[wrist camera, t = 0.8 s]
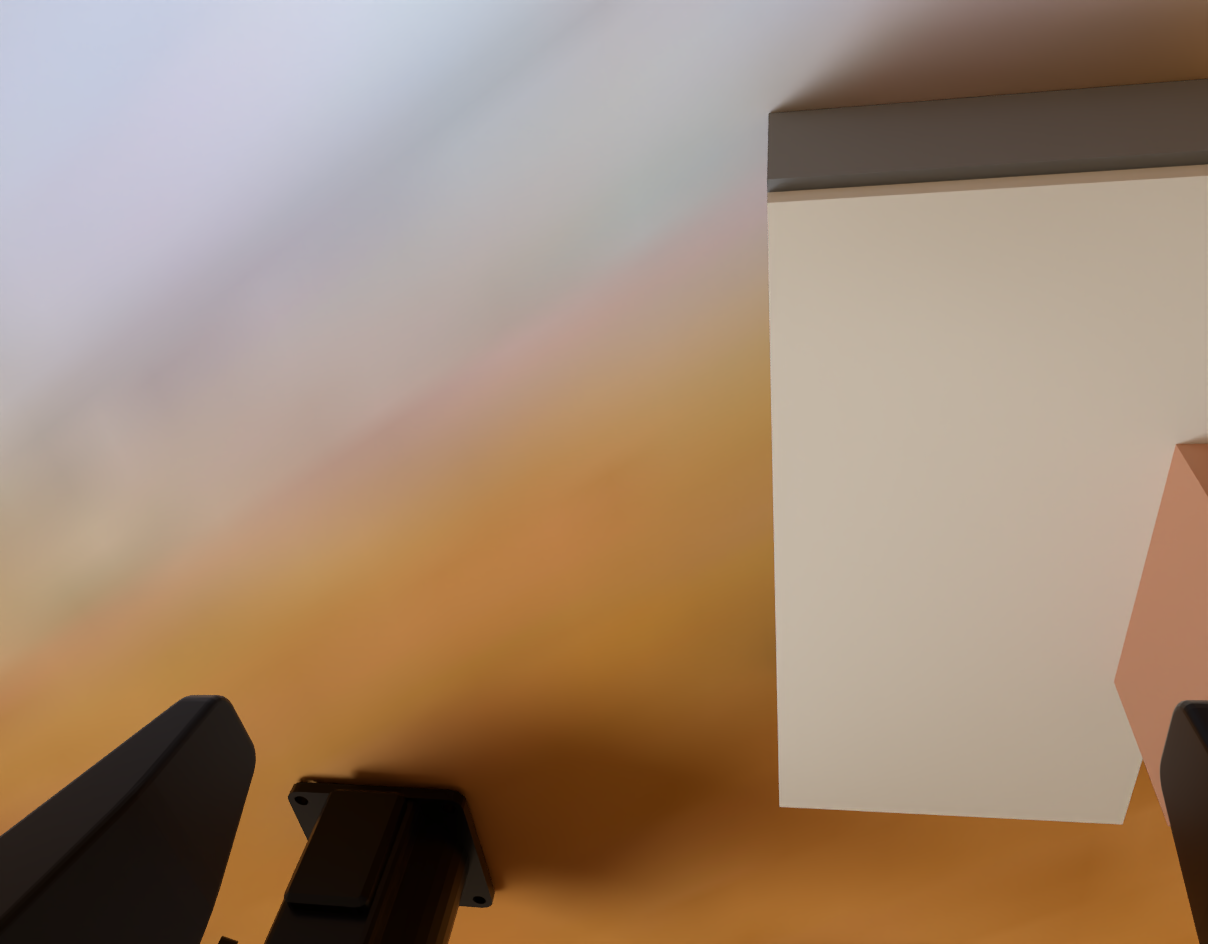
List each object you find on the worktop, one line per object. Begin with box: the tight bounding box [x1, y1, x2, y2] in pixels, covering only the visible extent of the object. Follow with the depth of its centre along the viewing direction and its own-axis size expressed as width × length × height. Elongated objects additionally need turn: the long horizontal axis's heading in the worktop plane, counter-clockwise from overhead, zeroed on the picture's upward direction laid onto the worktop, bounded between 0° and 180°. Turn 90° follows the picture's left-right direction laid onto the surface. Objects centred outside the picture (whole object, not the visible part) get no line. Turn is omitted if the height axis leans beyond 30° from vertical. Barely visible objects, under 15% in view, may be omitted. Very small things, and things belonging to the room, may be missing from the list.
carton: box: [767, 79, 1208, 192], centre depth 21 cm, size 16×8×4 cm, turn 7°
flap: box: [767, 164, 1208, 826], centre depth 18 cm, size 16×8×4 cm, turn 7°
